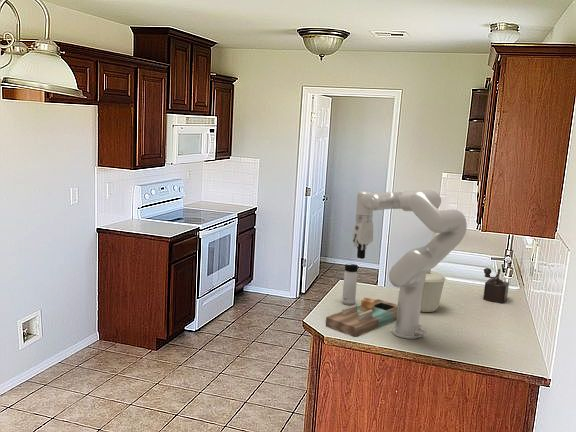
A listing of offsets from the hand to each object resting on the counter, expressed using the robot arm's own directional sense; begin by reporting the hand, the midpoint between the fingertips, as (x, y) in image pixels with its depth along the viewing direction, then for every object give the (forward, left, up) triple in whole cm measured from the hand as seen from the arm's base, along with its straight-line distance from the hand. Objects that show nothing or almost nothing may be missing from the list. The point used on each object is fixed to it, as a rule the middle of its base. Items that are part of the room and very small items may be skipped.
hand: (360, 257), depth 259 cm
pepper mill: (-33, -75, -27) cm, 86 cm away
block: (-6, +1, -23) cm, 24 cm away
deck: (-8, +2, -27) cm, 28 cm away
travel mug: (+12, -10, -27) cm, 31 cm away
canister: (-16, -33, -27) cm, 46 cm away
